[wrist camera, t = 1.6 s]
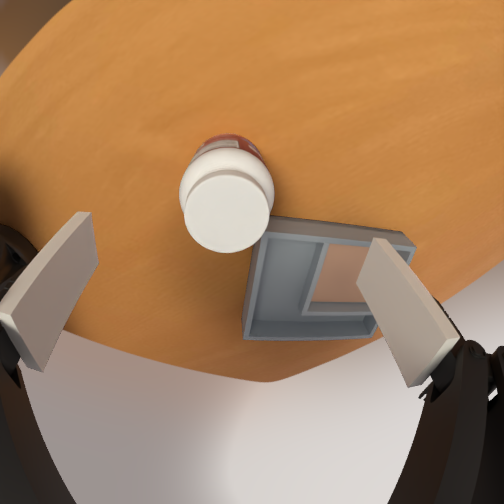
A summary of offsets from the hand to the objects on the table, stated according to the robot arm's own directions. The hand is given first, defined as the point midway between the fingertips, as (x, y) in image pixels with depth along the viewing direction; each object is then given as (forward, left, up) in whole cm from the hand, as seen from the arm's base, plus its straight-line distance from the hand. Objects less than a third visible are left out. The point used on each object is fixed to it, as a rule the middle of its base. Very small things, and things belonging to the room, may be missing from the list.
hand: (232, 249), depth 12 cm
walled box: (+12, -12, -14) cm, 22 cm away
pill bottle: (0, 0, -15) cm, 15 cm away
